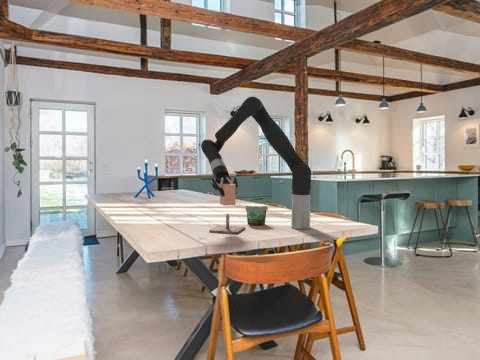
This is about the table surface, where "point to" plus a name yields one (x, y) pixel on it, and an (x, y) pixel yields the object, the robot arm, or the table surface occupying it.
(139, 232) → the table surface
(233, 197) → the salmon pink block
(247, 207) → the food container
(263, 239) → the table surface
